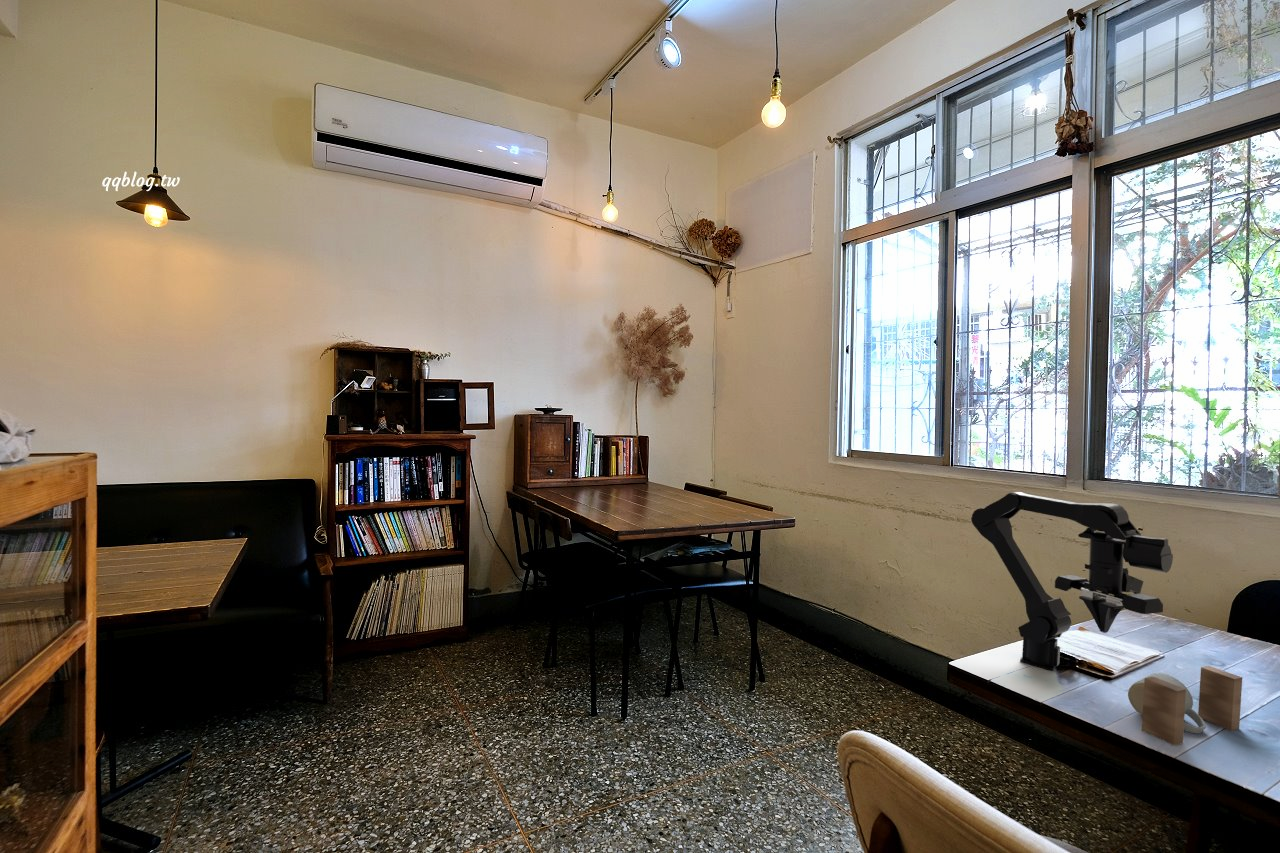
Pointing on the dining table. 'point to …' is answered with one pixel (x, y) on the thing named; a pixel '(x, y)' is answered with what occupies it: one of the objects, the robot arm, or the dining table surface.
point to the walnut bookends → (1169, 704)
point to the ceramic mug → (1138, 687)
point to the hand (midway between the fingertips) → (1103, 632)
